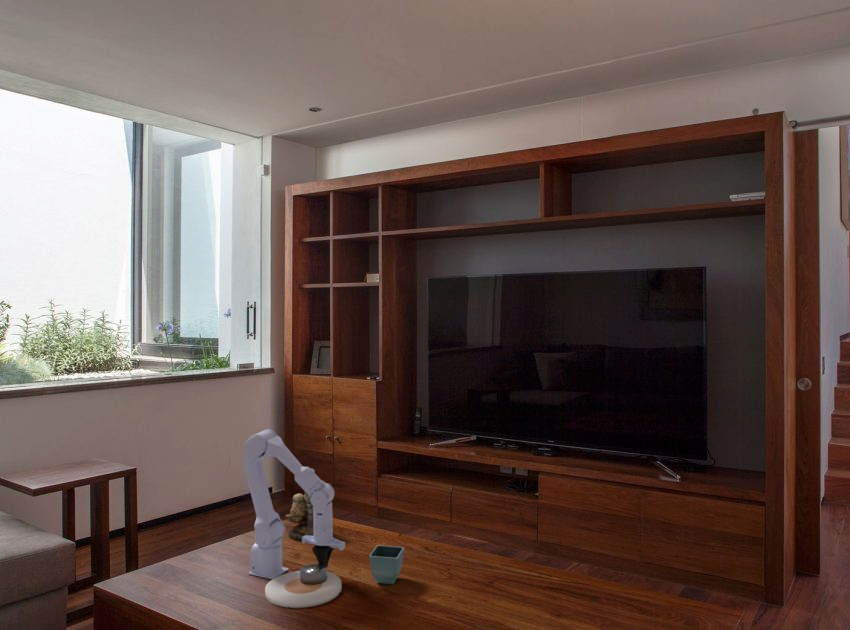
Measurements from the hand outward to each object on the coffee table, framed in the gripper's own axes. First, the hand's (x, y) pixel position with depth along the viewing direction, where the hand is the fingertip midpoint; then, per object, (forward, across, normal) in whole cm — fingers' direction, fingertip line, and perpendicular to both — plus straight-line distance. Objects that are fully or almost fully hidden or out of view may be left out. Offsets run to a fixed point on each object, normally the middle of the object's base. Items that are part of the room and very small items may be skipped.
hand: (323, 569), depth 203 cm
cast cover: (+1, 0, +6) cm, 6 cm away
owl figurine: (+3, +25, -28) cm, 37 cm away
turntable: (+2, 0, +10) cm, 10 cm away
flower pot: (+3, -19, -6) cm, 20 cm away
